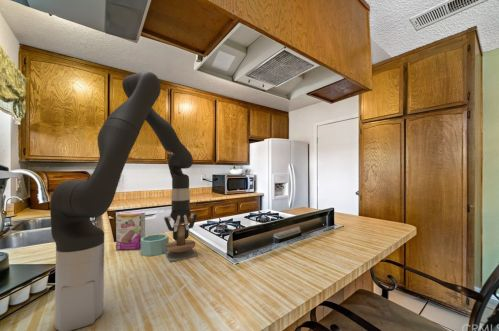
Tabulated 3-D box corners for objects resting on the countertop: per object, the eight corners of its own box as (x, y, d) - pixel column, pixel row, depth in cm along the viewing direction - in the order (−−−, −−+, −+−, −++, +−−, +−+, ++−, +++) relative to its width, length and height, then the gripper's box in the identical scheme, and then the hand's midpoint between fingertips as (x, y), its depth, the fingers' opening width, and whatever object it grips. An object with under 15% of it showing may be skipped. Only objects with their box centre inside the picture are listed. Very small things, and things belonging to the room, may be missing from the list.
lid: (199, 248, 88) (198, 226, 88) (168, 254, 82) (168, 230, 82) (191, 240, 98) (190, 220, 98) (163, 245, 92) (163, 224, 92)
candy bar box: (115, 250, 96) (115, 214, 96) (121, 246, 101) (122, 212, 101) (140, 250, 96) (140, 213, 96) (145, 246, 101) (145, 211, 101)
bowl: (169, 252, 92) (169, 238, 93) (141, 258, 87) (141, 243, 87) (165, 245, 102) (165, 232, 102) (139, 249, 96) (140, 236, 96)
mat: (197, 256, 88) (197, 254, 88) (169, 262, 82) (169, 260, 82) (190, 248, 97) (190, 247, 97) (165, 253, 91) (165, 252, 91)
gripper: (164, 201, 84) (164, 245, 83) (199, 198, 91) (199, 238, 90) (161, 199, 90) (161, 239, 89) (194, 196, 97) (194, 234, 97)
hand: (180, 239), depth 90 cm, fingers closed on lid, 3 cm apart
